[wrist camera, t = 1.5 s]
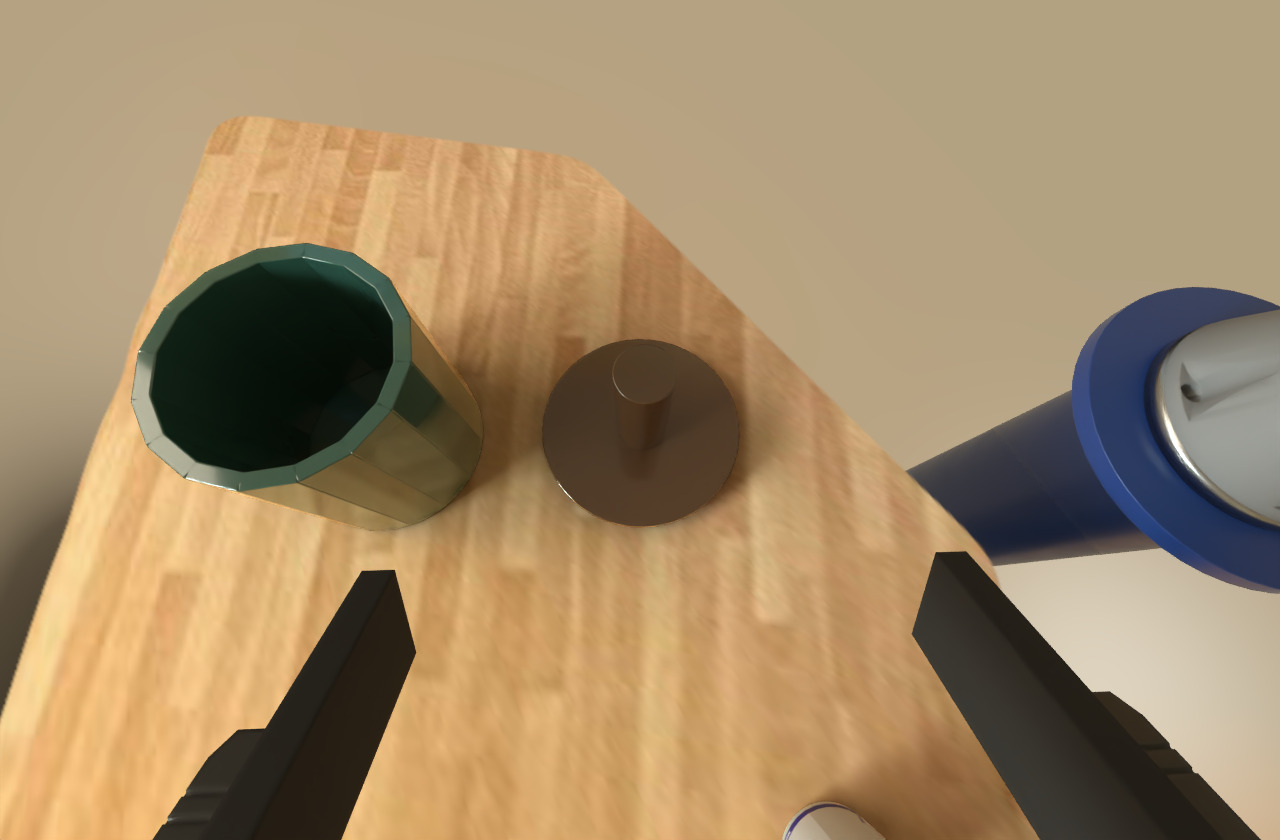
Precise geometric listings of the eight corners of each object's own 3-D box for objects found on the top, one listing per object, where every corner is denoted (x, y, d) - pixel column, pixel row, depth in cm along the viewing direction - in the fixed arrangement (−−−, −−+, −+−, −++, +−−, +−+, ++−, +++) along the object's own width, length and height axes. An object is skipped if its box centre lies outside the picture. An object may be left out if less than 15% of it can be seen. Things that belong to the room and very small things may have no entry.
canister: (514, 468, 35) (455, 398, 23) (342, 567, 33) (180, 545, 21) (437, 331, 38) (350, 206, 26) (275, 412, 36) (100, 317, 24)
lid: (773, 463, 35) (825, 412, 26) (607, 568, 33) (599, 554, 24) (669, 317, 39) (681, 227, 29) (511, 403, 36) (471, 334, 27)
